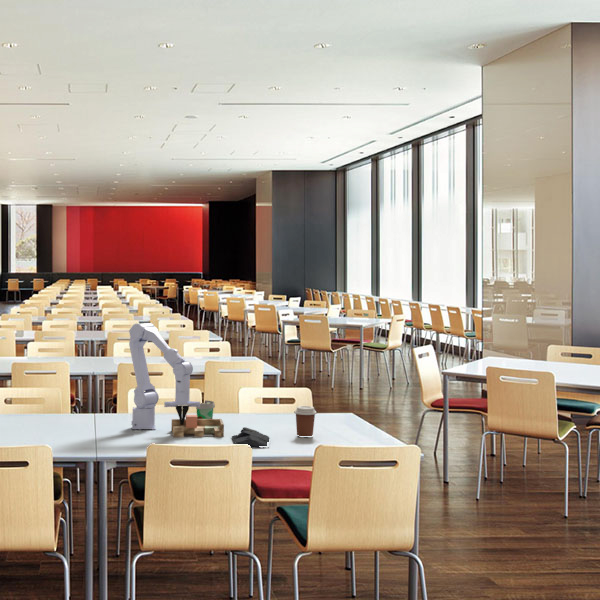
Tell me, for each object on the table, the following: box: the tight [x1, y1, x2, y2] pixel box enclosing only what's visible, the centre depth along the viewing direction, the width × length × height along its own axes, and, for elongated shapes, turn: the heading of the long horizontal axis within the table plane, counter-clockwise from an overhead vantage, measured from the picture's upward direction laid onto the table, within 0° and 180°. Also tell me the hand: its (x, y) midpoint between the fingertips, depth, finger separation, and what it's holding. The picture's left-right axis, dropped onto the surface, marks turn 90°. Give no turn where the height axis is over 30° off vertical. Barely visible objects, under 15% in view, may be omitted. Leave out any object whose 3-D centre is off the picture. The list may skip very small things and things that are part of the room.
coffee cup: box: [293, 405, 317, 436], centre depth 341 cm, size 9×9×12 cm
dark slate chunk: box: [231, 427, 270, 448], centre depth 326 cm, size 15×22×5 cm
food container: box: [195, 399, 216, 419], centre depth 361 cm, size 12×6×10 cm, turn 168°
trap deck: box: [170, 418, 225, 438], centre depth 341 cm, size 20×13×5 cm, turn 100°
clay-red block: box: [185, 414, 197, 428], centre depth 343 cm, size 4×4×4 cm
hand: (181, 424), depth 343 cm, fingers closed
